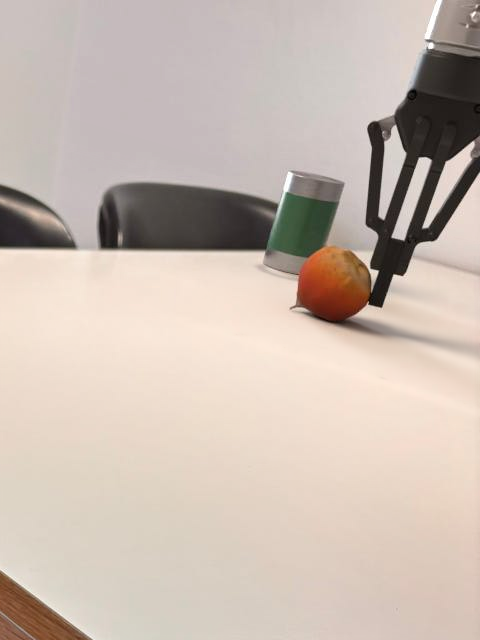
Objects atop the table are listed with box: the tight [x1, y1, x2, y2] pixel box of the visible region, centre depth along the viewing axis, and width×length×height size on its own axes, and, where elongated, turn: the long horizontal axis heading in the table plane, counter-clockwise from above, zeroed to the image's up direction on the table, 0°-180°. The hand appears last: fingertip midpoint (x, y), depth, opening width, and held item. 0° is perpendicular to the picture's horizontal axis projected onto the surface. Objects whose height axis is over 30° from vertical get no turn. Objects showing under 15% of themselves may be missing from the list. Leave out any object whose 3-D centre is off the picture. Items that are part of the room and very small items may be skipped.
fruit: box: [289, 245, 372, 323], centre depth 114 cm, size 8×8×8 cm
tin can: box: [262, 170, 346, 276], centre depth 135 cm, size 7×7×11 cm
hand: (375, 303), depth 113 cm, fingers closed
